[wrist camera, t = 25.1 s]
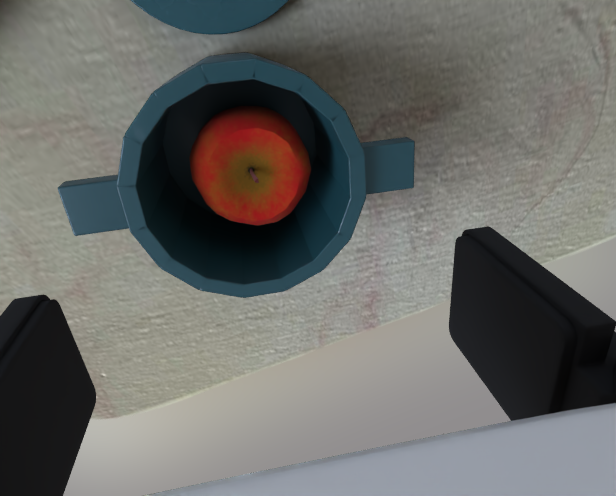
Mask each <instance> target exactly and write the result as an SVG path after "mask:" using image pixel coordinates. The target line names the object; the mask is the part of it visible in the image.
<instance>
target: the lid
mask: <svg viewBox="0 0 616 496" xmlns="http://www.w3.org/2000/svg"><path fill="white" fill-rule="evenodd" d="M131 1H132V2H133V3H134V4H136V5H137V6H138V7H140V8H141V9H142V10H144V11H145V12H147V13H148V14H149V15H151V16H153V17H155V18H156V19H158V20H160V21H162V22H164V23H166V24H168V25H171V26H173V27H176V28H178V29H182V30H186V31H189V32H193V33H201V34H227V33H233V32H238V31H241V30H244V29H247V28H250V27H253V26H255V25H257V24H259V23H261V22H262V21H264V20H266V19H267V18H269V17H270V16H272V15H273V14H274V13H276V12H277V11H278V10H279V9H280V8H281V7H282V6H283V5H284V4H285V3H287V1H288V0H131Z"/></svg>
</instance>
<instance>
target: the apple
mask: <svg viewBox="0 0 616 496" xmlns="http://www.w3.org/2000/svg"><path fill="white" fill-rule="evenodd" d="M189 159H190V168H191V175H192V180H193V182H194V183H195V185H196V187H197V189H198V190H199V192H200V194H201V195H202V197H203V199H204V201H205V202H206V204H207V205H208V206H209V207H210V208H211V209H212V210H213V211H214V212H216V213H217V214H218V215H220V216H222V217H224V218H226V219H228V220H230V221H234V222H239V223H245V224H251V225H257V226H258V225H264V224H269V223H274V222H278V221H280V220H281V219H283V218H284V217H286V216H287V215H289V214H290V213H291V212H292V211H293V209H294V208H295V207H296V205H297V204H298V202H299V201H300V199H301V198H302V196H303V195H304V193H305V192H306V189H307V185H308V181H309V177H310V173H311V166H310V160H309V154H308V152H307V150H306V148H305V146H304V144H303V142H302V140H301V138H300V137H299V135H298V133H297V131H296V129H295V128H294V127H293V126H292V124H291V123H290V122H289V121H288V120H287V119H286V118H284V117H283V116H282V115H281V114H279V113H277V112H275V111H273V110H271V109H269V108H267V107H260V106H238V107H234V108H230V109H226V110H223V111H221V112H220V113H218V114H216V115H214V116H213V117H212V118H211V119H210V120H209V121H208V122H207V123H206V124H205V125H204V126H203V127H202V129H201V130H200V132H199V134H198V136H197V138H196V140H195V141H194V143H193V145H192V149H191V153H190V157H189Z"/></svg>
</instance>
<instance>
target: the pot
mask: <svg viewBox="0 0 616 496" xmlns="http://www.w3.org/2000/svg"><path fill="white" fill-rule="evenodd" d="M238 106H260V107H267V108H269V109H271V110H273V111H275V112H277V113H279V114H281V115H282V116H283V117H284V118H286V119H287V120H288V121H289V122H290V123H291V124H292V126H293V127H294V128H295V129H296V131H297V133H298V135H299V137H300V138H301V140H302V142H303V144H304V146H305V148H306V150H307V152H308V154H309V160H310V166H311V173H310V177H309V181H308V185H307V189H306V192H305V193H304V195H303V196H302V198H301V199H300V201H299V202H298V204H297V205H296V207H295V208H294V209H293V211H292V212H291V213H290V214H289V215H287V216H286V217H284V218H283V219H281V220H280V221H278V222H274V223H269V224H264V225H258V226H257V225H251V224H245V223H239V222H234V221H230V220H228V219H226V218H224V217H222V216H220V215H218V214H217V213H216V212H214V211H213V210H212V209H211V208H210V207H209V206H208V205H207V204H206V202H205V201H204V199H203V197H202V195H201V194H200V192H199V190H198V189H197V187H196V185H195V183H194V182H193V180H192V175H191V168H190V159H189V157H190V153H191V149H192V145H193V143H194V141H195V140H196V138H197V136H198V134H199V132H200V130H201V129H202V127H203V126H204V125H205V124H206V123H207V122H208V121H209V120H210V119H211V118H212V117H213V116H214V115H216V114H218V113H220V112H221V111H223V110H226V109H230V108H234V107H238ZM414 147H415V141H413V140H412V139H410V138H408V137H403V138H395V139H388V140H380V141H372V142H365V143H360V141H359V139H358V137H357V135H356V133H355V130H354V128H353V126H352V124H351V122H350V120H349V117H348V115H347V113H346V111H345V110H344V108H343V107H342V106H341V105H339V104H338V103H337V102H336V101H335V100H334V99H333V98H332V97H331V96H329V95H328V94H327V93H326V92H325V91H324V90H323V89H322V88H320V87H319V86H318V85H317V84H316V83H315V82H314V81H313V80H312V79H310V78H309V77H308V76H306V75H305V74H303V73H301V72H299V71H296V70H294V69H292V68H290V67H288V66H285V65H283V64H281V63H278V62H275V61H272V60H269V59H266V58H262V57H259V56H256V55H253V54H250V53H245V52H244V53H234V54H224V55H214V56H209V57H206V58H204V59H203V60H201V61H199V62H198V63H196V64H194V65H192V66H191V67H189V68H188V69H186V70H184V71H182V72H181V73H179V74H177V75H176V76H175V77H173V78H172V79H170V80H169V81H168V82H166V83H165V84H163V85H162V86H161V87H159V88H158V89H156V90H155V91H154V92H153V93H152V94H151V95H150V97H149V98H148V100H147V101H146V103H145V104H144V106H143V107H142V109H141V110H140V112H139V113H138V115H137V116H136V118H135V119H134V121H133V122H132V124H131V125H130V127H129V128H128V130H127V131H126V133H125V136H124V137H123V144H122V151H121V158H120V165H119V172H118V175H111V176H103V177H96V178H88V179H80V180H73V181H65V182H64V183H62V184H61V185H60V186H59V187H58V191H59V194H60V197H61V200H62V202H63V205H64V208H65V211H66V213H67V216H68V219H69V222H70V224H71V227H72V230H73V233H74V235H75V236H78V235H85V234H92V233H99V232H106V231H113V230H120V229H127V228H129V229H130V232H131V233H132V234H133V236H134V237H135V238H136V239H137V241H138V242H139V243H140V244H141V245H142V247H143V248H144V249H145V250H146V252H147V253H148V254H149V255H150V256H151V258H152V259H153V260H154V261H155V263H156V264H157V265H158V266H159V267H160V268H161V269H163V270H164V271H166V272H168V273H170V274H171V275H173V276H175V277H177V278H179V279H180V280H182V281H184V282H186V283H187V284H189V285H191V286H193V287H194V288H196V289H198V290H201V291H207V292H212V293H218V294H224V295H230V296H236V297H243V298H246V297H252V296H258V295H264V294H270V293H277V292H283V291H285V290H288V289H290V288H292V287H293V286H295V285H297V284H299V283H301V282H303V281H304V280H306V279H308V278H310V277H312V276H314V275H315V274H317V273H319V272H321V271H322V270H324V269H325V268H326V266H327V265H328V264H329V263H330V262H331V261H332V260H333V259H334V257H335V256H336V255H337V254H338V253H339V252H340V251H341V249H342V248H343V247H344V246H345V245H346V244H347V243H348V242H349V240H350V238H351V237H352V234H353V232H354V229H355V226H356V224H357V221H358V218H359V216H360V213H361V210H362V207H363V205H364V202H365V199H366V194H373V193H380V192H387V191H394V190H401V189H408V188H413V187H414Z"/></svg>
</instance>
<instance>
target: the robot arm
mask: <svg viewBox="0 0 616 496" xmlns="http://www.w3.org/2000/svg"><path fill="white" fill-rule="evenodd" d="M615 326H616V321H615V320H613V319H612V318H610V317H609V316H608V315H606V314H605V313H604V312H602V311H601V310H600V309H599V308H597V307H596V306H595V305H593V304H592V303H591V302H589V301H588V300H587V299H585V298H584V297H583V296H581V295H580V294H579V293H577V292H576V291H575V290H573V289H572V288H570V287H569V286H568V285H567V284H565V283H564V282H563V281H561V280H560V279H559V278H557V277H556V276H555V275H553V274H552V273H551V272H549V271H548V270H547V269H545V268H544V267H543V266H541V265H540V264H539V263H537V262H536V261H535V260H533V259H532V258H531V257H529V256H528V255H527V254H526V253H524V252H523V251H522V250H520V249H519V248H518V247H516V246H515V245H514V244H512V243H511V242H510V241H508V240H507V239H506V238H504V237H503V236H502V235H500V234H499V233H498V232H496V231H495V230H494V229H492V228H491V227H482V228H475V229H469V230H465V231H464V232H463V234H462V236H461V237H458V238H457V239H456V243H455V254H454V267H453V280H452V292H451V306H450V318H449V331H450V335H451V337H452V339H453V341H454V342H455V344H456V345H457V346H458V348H459V349H460V351H461V352H462V353H463V355H464V356H465V357H466V359H467V360H468V362H469V363H470V364H471V366H472V367H473V368H474V370H475V371H476V373H477V374H478V375H479V377H480V378H481V380H482V381H483V382H484V383H485V385H486V386H487V388H488V389H489V391H490V392H491V393H492V395H493V396H494V397H495V399H496V400H497V402H498V403H499V404H500V406H501V407H502V409H503V410H504V411H505V413H506V414H507V415H508V417H509V418H510V420H511V421H509V422H504V423H498V424H493V425H488V426H483V427H479V428H473V429H468V430H464V431H458V432H453V433H448V434H443V435H438V436H433V437H428V438H423V439H419V440H413V441H408V442H403V443H397V444H393V445H387V446H382V447H377V448H372V449H368V450H363V451H358V452H353V453H348V454H343V455H338V456H333V457H328V458H324V459H318V460H313V461H309V462H304V463H299V464H294V465H289V466H284V467H279V468H274V469H269V470H264V471H260V472H255V473H250V474H245V475H240V476H235V477H230V478H226V479H221V480H216V481H211V482H207V483H201V484H197V485H192V486H188V487H182V488H178V489H173V490H168V491H163V492H158V493H154V494H149V495H145V496H616V332H615V331H614V330H615ZM95 403H96V392H95V388H94V385H93V383H92V380H91V378H90V376H89V373H88V371H87V369H86V366H85V364H84V361H83V359H82V357H81V354H80V352H79V350H78V347H77V345H76V342H75V340H74V338H73V335H72V333H71V331H70V328H69V326H68V323H67V321H66V319H65V316H64V314H63V311H62V309H61V307H60V305H59V303H58V302H57V301H56V300H50V299H49V298H48V297H47V296H46V295H38V296H31V297H25V298H18V299H14V300H13V301H12V302H11V303H10V305H9V306H8V307H7V308H6V310H5V311H4V312H3V313H2V315H1V316H0V496H63V493H64V491H65V488H66V485H67V482H68V480H69V477H70V474H71V471H72V468H73V465H74V463H75V460H76V457H77V454H78V451H79V449H80V446H81V443H82V440H83V437H84V435H85V432H86V429H87V426H88V423H89V421H90V418H91V415H92V412H93V409H94V406H95Z"/></svg>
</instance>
